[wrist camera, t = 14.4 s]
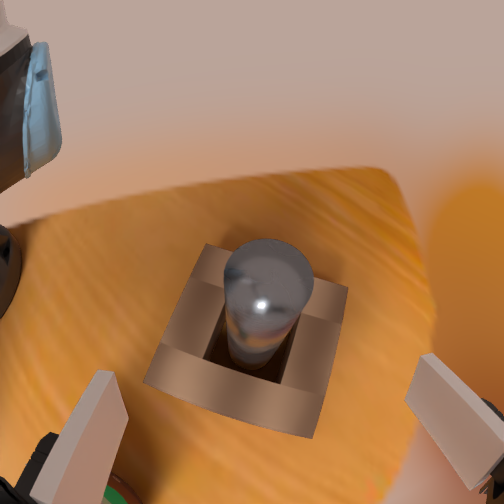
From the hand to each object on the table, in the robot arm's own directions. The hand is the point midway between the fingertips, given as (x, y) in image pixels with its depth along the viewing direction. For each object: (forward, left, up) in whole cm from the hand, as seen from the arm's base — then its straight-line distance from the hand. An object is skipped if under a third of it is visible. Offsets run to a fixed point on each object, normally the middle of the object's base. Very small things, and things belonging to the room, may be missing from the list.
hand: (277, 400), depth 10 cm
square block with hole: (-2, +5, -13) cm, 14 cm away
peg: (-2, +5, -13) cm, 14 cm away
